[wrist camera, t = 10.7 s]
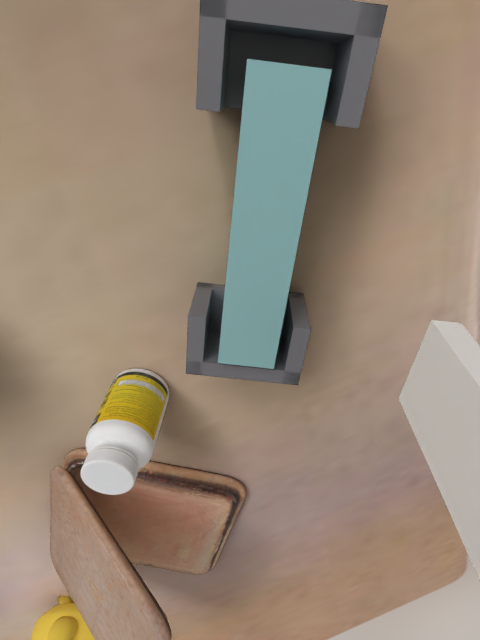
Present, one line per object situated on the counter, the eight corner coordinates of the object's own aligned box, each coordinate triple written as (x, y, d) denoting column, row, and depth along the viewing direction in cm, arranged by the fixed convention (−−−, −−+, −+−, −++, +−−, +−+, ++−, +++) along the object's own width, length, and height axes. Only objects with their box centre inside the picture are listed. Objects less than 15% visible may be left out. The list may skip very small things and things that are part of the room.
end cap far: (197, 282, 31) (188, 316, 26) (303, 293, 31) (311, 329, 27) (195, 334, 33) (185, 373, 29) (292, 345, 34) (297, 385, 29)
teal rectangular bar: (248, 63, 22) (247, 58, 18) (317, 71, 23) (331, 69, 18) (222, 325, 32) (217, 363, 28) (271, 330, 32) (273, 369, 28)
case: (61, 437, 41) (-36, 614, 28) (253, 476, 43) (250, 659, 30) (58, 538, 52) (-13, 702, 38) (212, 565, 54) (196, 730, 40)
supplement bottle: (110, 363, 35) (65, 450, 27) (170, 369, 36) (143, 458, 27) (114, 406, 38) (75, 497, 30) (170, 412, 38) (145, 504, 30)
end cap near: (340, 119, 25) (358, 128, 20) (207, 104, 24) (196, 109, 20) (361, 20, 22) (387, 5, 17) (212, 2, 22) (200, -19, 17)
